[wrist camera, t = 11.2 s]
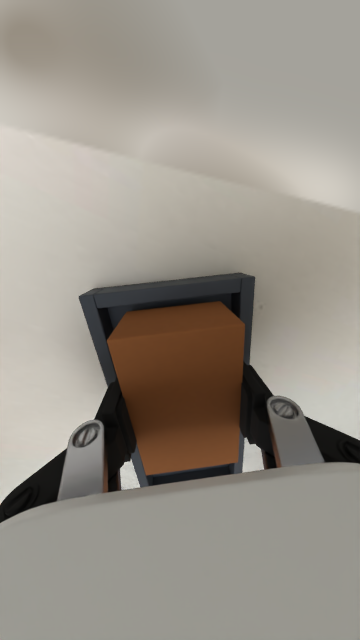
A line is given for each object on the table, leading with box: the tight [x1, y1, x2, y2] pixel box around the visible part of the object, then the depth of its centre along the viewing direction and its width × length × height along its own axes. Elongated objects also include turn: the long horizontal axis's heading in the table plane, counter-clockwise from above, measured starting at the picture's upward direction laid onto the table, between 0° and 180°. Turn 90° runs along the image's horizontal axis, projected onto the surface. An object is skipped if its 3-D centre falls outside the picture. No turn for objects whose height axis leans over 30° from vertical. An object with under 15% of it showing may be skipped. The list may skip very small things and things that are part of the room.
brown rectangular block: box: [107, 301, 245, 475], centre depth 10 cm, size 6×9×4 cm, turn 5°
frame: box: [79, 273, 255, 487], centre depth 14 cm, size 10×21×2 cm, turn 6°
